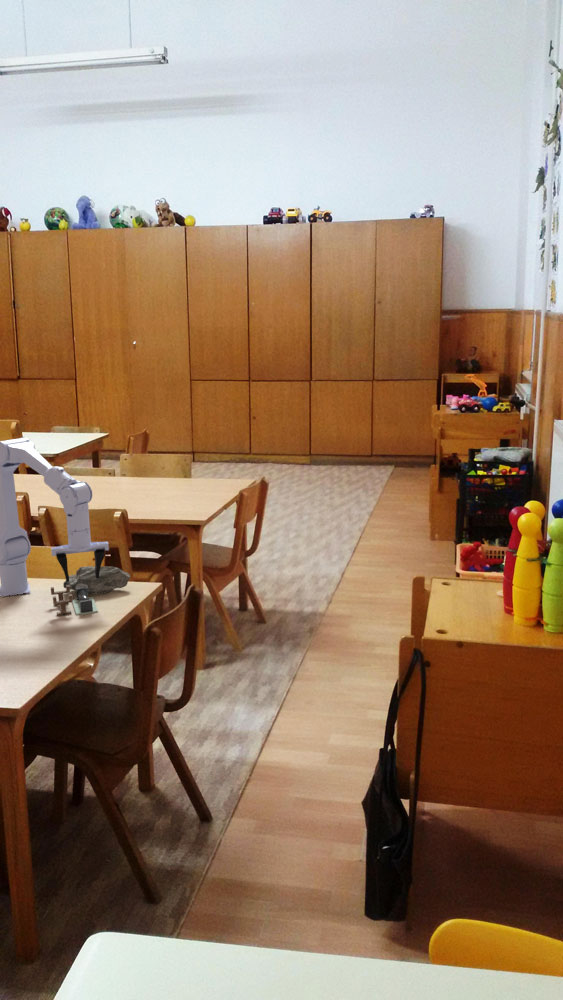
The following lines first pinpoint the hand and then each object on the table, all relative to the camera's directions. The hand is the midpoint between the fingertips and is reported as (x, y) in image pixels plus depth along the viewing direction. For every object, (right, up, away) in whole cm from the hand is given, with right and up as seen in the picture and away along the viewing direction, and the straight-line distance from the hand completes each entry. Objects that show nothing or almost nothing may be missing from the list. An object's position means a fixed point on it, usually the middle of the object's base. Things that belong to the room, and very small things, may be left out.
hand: (82, 578), depth 213 cm
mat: (0, -8, +2) cm, 8 cm away
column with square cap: (0, -7, +1) cm, 7 cm away
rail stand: (-5, -8, 0) cm, 10 cm away
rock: (+1, -5, +15) cm, 16 cm away
